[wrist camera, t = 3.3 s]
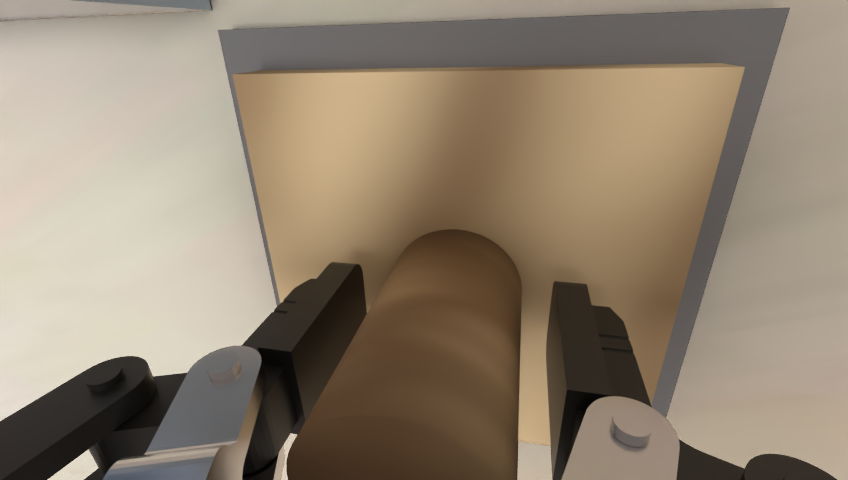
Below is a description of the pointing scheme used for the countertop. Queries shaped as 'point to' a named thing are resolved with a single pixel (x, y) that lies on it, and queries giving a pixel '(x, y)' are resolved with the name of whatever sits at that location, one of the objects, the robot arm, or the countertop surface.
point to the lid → (477, 238)
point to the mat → (551, 46)
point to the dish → (93, 8)
